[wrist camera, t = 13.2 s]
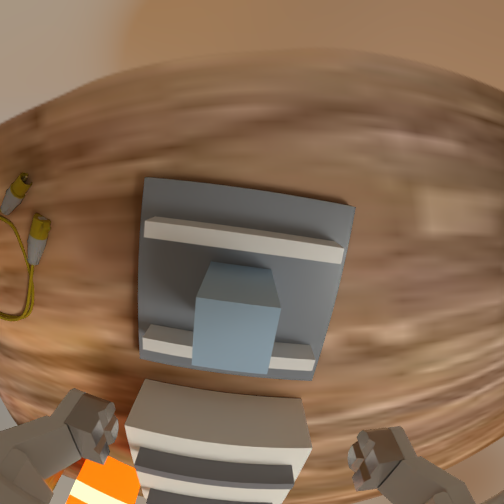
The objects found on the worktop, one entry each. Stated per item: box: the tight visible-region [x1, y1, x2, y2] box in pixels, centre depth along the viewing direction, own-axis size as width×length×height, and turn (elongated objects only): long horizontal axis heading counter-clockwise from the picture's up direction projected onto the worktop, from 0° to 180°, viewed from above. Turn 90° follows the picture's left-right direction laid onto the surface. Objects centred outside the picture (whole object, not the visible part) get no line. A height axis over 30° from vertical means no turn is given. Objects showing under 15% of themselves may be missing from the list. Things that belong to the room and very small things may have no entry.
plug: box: [192, 261, 281, 374], centre depth 17 cm, size 4×4×6 cm
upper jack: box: [125, 379, 312, 504], centre depth 21 cm, size 14×14×8 cm
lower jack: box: [138, 177, 356, 381], centre depth 19 cm, size 14×14×3 cm
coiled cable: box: [0, 172, 51, 321], centre depth 19 cm, size 12×16×2 cm
